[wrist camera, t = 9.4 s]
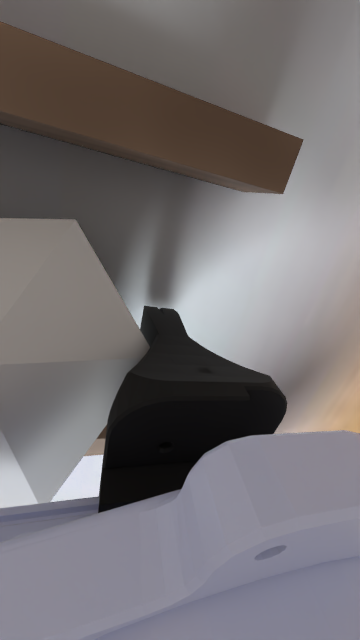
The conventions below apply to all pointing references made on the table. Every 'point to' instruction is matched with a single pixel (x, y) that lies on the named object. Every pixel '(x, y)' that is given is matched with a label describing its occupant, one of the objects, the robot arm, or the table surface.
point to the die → (55, 354)
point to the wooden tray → (135, 121)
